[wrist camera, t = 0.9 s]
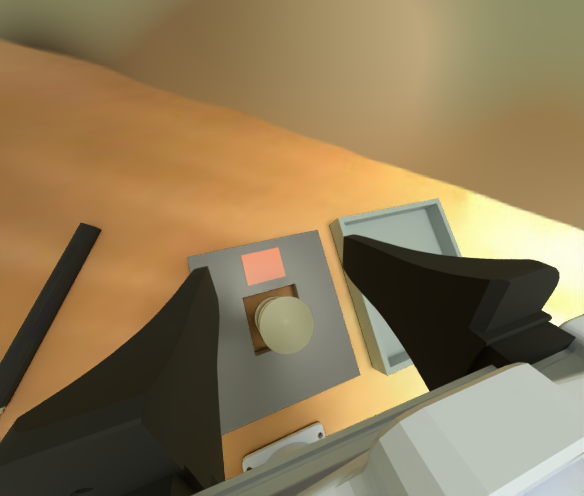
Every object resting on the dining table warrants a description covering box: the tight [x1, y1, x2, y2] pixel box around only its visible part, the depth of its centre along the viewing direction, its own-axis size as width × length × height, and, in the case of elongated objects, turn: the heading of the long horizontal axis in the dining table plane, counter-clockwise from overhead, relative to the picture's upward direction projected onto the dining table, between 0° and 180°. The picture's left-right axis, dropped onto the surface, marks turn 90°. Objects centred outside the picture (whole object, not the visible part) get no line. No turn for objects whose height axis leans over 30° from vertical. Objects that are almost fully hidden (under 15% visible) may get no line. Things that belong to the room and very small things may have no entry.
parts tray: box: [330, 198, 462, 376], centre depth 27 cm, size 17×15×2 cm
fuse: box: [254, 296, 314, 354], centre depth 20 cm, size 4×4×7 cm
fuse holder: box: [187, 230, 360, 435], centre depth 22 cm, size 16×14×2 cm
